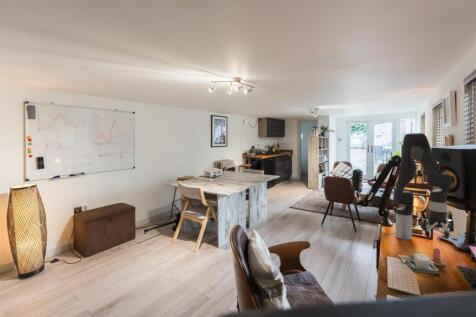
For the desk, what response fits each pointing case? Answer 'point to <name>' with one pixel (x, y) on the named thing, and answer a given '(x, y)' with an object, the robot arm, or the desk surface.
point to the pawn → (436, 255)
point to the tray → (431, 269)
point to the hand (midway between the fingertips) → (436, 237)
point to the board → (405, 257)
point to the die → (421, 261)
